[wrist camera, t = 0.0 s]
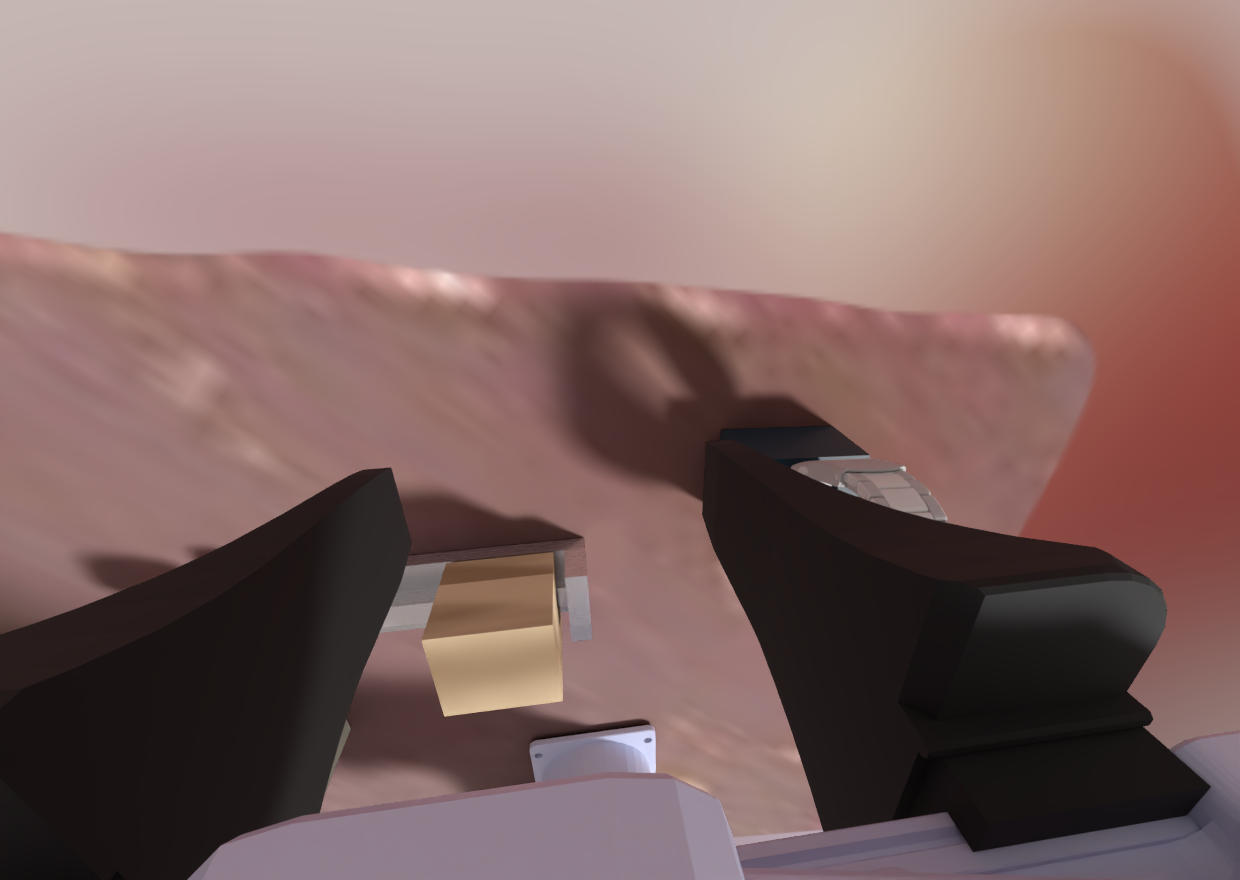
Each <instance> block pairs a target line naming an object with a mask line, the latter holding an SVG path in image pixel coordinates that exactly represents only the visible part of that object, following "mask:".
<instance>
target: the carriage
mask: <svg viewBox="0 0 1240 880" xmlns="http://www.w3.org/2000/svg"><path fill="white" fill-rule="evenodd" d="M422 644H423V647H424V650H425V654H426V657H427V660H428V664H429V667H430V670H431V674H432V677H433V680H434V684H435V687H436V690H437V694H438V697H439V700H440V704H441V707H442V710H443V714H444V717H445V716H453V715H460V714H468V713H475V712H483V711H491V710H498V709H506V708H514V707H521V706H529V705H536V704H544V703H552V702H559V701H563V693H562V619H561V610H560V608H557V600H556V569H555V560H554V552H549V553H540V554H530V555H520V556H511V557H501V558H491V559H481V560H472V561H462V562H452V563H446V565H445V568H444V571H443V575H442V578H441V581H440V584H439V587H438V590H437V593H436V596H435V600H434V603H433V606H432V609H431V612H430V615H429V618H428V622H427V625H426V628H425V631H424V634H423V637H422Z"/></svg>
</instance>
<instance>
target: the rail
mask: <svg viewBox="0 0 1240 880" xmlns="http://www.w3.org/2000/svg"><path fill="white" fill-rule="evenodd" d="M549 552H554V560H555V569H556V600H557V608H560V610H561V612H567V611H569V620H570V629H571V638H572V642H574V641H582V640H590V639H592V628H591V616H590V603H589V591H588V579H587V567H586V556H585V544H584V538H577V539H568V540H558V541H548V542H538V543H528V544H518V545H508V546H498V547H488V548H478V549H468V550H458V551H449V552H439V553H429V554H419V555H409V556H408V559H407V563H406V567H405V570H404V574H403V577H402V581H401V583H400V586H399V588H398V591H397V593H396V595H395V598H394V600H393V603H392V605H391V607H390V610H389V612H388V614H387V617H386V619H385V621H384V624H383V626H382V628H381V630H380V633H383V632H392V631H400V630H409V629H418V628H426V625H427V622H428V618H429V615H430V612H431V609H432V606H433V603H434V600H435V596H436V593H437V590H438V587H439V584H440V581H441V578H442V575H443V571H444V568H445V565H446V563H452V562H462V561H472V560H481V559H491V558H501V557H511V556H520V555H530V554H540V553H549Z"/></svg>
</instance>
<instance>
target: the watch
mask: <svg viewBox="0 0 1240 880" xmlns="http://www.w3.org/2000/svg"><path fill="white" fill-rule="evenodd" d="M723 440H733V441H736V442H738V443H741V444H743V445H745V446H747V447H749V448H751V449H753V450H755V451H757V452H759V453H761V454H763V455H765V456H767V457H769V458H771V459H773V460H775V461H777V462H779V463H781V464H783V465H785V466H787V467H789V468H791V469H793V470H795V471H797V472H799V473H802V474H804V475H806V476H808V477H810V478H812V479H815V480H817V481H819V482H822V483H824V484H826V485H829V486H831V487H833V488H836V489H838V490H841V491H843V492H846V493H848V494H851V495H854V496H857V497H862V498H863V499H865V500H868V501H871V502H874V503H877V504H880V505H883V506H886V507H889V508H893V509H896V510H899V511H903V512H907V513H910V514H914V515H918V516H922V517H925V518H929V519H933V520H937V521H941V522H945V521H946V520H947V517H946V515H945V513H944V511H943V510H942V508H941V506H940V505H939V503H938V502H937V501H936V499H935V498H934V497H933V496H932V495H930V491H929V490H928V489H927V488H926V487H925V486H924V485H923V484H922V483H921V482H920V481H918V480H917V479H914V477H913V476H912V475H911V474H909V473H907V472H905V470H906V467H905V466H903V465H900V464H897V463H893V462H889V461H885V460H879V459H869V457H870V455H869V454H868V453H866V452H865V451H864V450H863V449H861V448H860V447H859V446H857V445H856V444H855V443H854V442H852V441H851V440H850V439H848V438H847V437H846V436H845V435H843V434H842V433H841V432H839V431H838V430H837V429H836V428H834V427H833V426H810V427H779V428H748V429H721V436H720V441H723ZM945 523H949V522H945Z"/></svg>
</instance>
